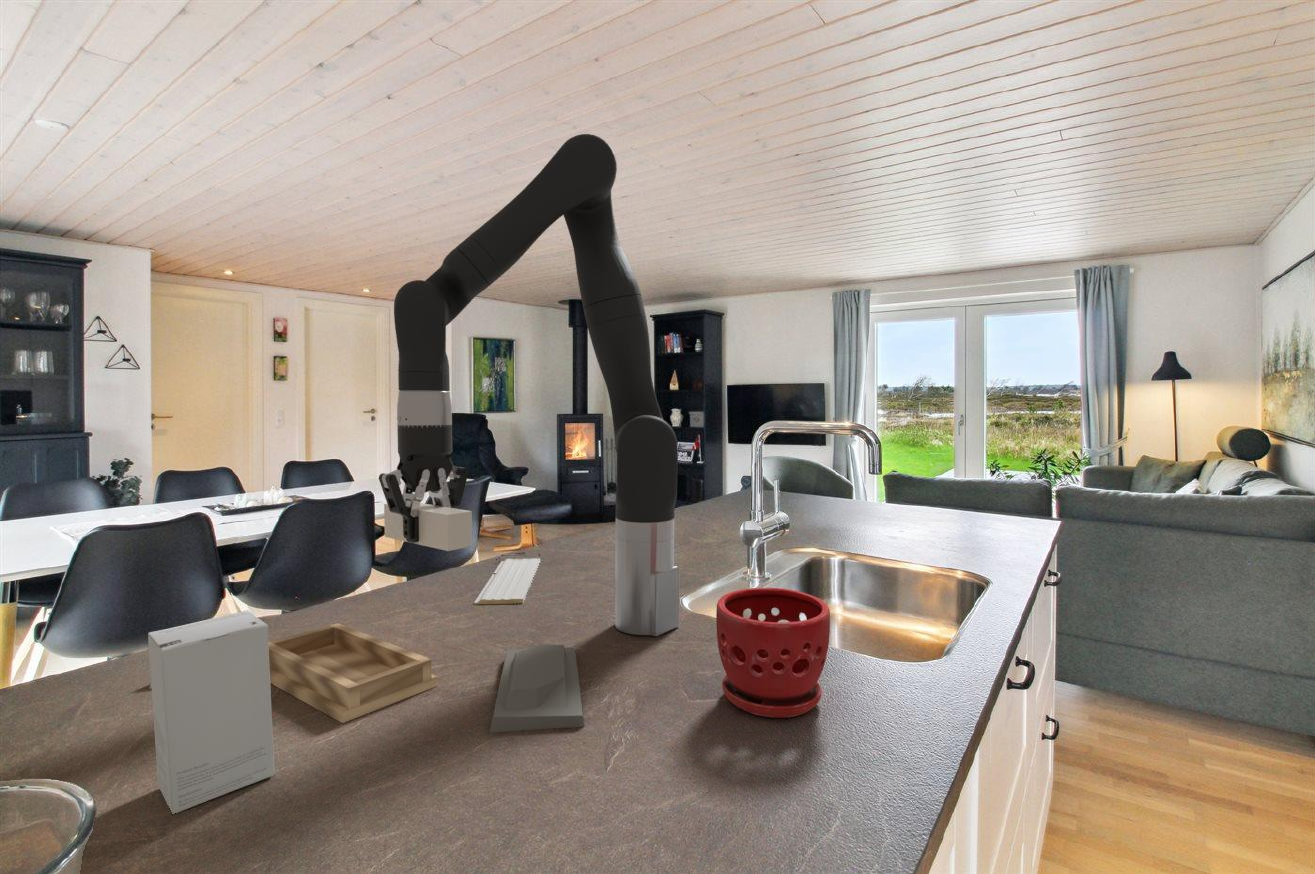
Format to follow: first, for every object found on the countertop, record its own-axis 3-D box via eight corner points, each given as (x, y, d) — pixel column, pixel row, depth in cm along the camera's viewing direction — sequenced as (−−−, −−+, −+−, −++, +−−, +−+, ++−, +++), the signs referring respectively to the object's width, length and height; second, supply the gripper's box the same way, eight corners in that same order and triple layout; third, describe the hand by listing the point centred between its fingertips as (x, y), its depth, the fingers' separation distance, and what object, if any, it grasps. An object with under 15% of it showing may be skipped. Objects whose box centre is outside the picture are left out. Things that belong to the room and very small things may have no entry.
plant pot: (696, 689, 81) (697, 593, 81) (786, 672, 86) (787, 582, 86) (752, 738, 69) (753, 626, 69) (852, 715, 74) (854, 611, 74)
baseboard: (465, 607, 115) (523, 607, 116) (465, 591, 115) (523, 591, 115) (494, 565, 145) (540, 564, 146) (494, 552, 145) (540, 552, 146)
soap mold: (487, 738, 70) (487, 705, 70) (503, 664, 90) (503, 639, 90) (585, 731, 72) (585, 700, 71) (579, 661, 91) (579, 636, 91)
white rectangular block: (472, 546, 94) (471, 511, 93) (448, 551, 90) (447, 514, 90) (408, 532, 103) (408, 501, 103) (384, 536, 100) (384, 504, 100)
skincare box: (256, 755, 65) (253, 607, 65) (277, 778, 61) (273, 621, 61) (151, 790, 59) (146, 627, 59) (166, 820, 55) (160, 645, 54)
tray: (437, 685, 82) (437, 657, 81) (342, 723, 72) (342, 690, 72) (343, 646, 95) (343, 621, 94) (253, 673, 85) (252, 645, 85)
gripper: (395, 424, 88) (397, 551, 89) (481, 421, 100) (482, 534, 100) (364, 423, 92) (367, 544, 93) (450, 421, 104) (451, 529, 105)
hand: (426, 538), depth 97 cm, fingers closed on white rectangular block, 4 cm apart
